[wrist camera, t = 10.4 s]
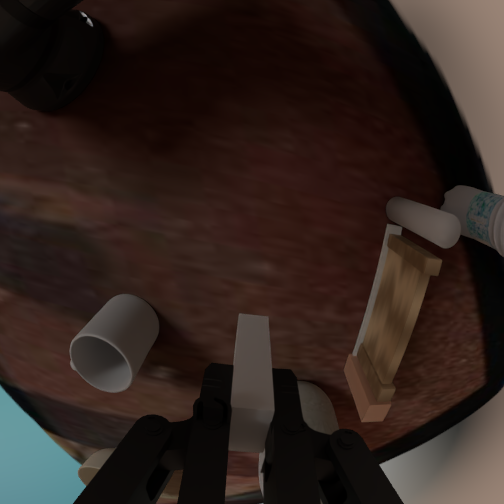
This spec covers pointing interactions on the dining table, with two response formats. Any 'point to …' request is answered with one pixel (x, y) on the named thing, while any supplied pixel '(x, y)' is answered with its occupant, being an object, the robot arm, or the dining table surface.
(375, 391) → the gate
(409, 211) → the fence
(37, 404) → the dining table surface
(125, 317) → the mug
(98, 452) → the bowl
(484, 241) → the bottle
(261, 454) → the white tapered flask
